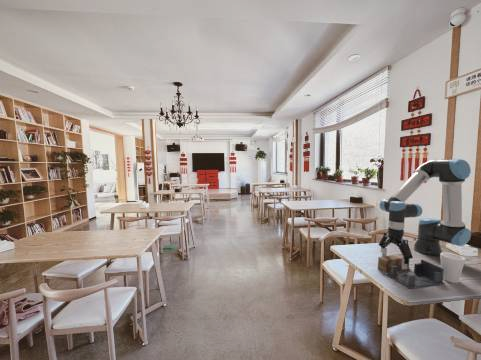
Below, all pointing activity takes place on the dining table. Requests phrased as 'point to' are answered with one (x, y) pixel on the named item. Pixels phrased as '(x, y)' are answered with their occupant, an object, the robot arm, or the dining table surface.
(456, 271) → the foam cup
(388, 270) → the brown wooden block
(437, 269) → the bracket board
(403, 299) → the dining table surface
